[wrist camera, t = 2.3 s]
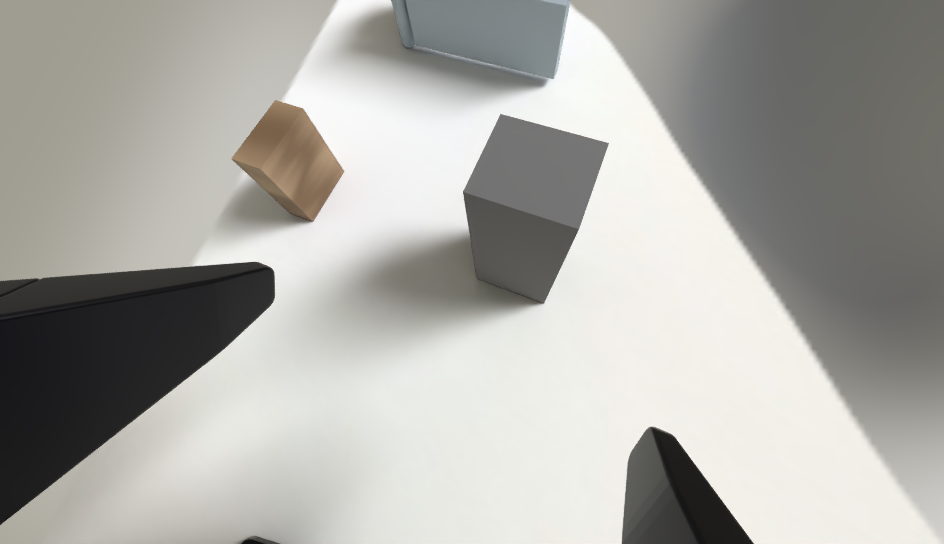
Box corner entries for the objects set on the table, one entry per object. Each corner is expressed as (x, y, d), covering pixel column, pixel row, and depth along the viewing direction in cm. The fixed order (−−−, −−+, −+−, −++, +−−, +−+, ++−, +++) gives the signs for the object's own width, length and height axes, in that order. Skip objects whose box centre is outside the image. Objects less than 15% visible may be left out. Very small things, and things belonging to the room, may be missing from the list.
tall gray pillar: (543, 303, 22) (578, 229, 13) (476, 278, 23) (463, 191, 13) (563, 248, 23) (608, 143, 14) (499, 226, 24) (500, 114, 15)
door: (400, 45, 30) (378, -36, 25) (413, 24, 31) (395, -59, 25) (552, 83, 28) (566, 1, 22) (563, 59, 29) (579, -26, 23)
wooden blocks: (313, 221, 25) (260, 168, 19) (289, 212, 25) (231, 158, 20) (446, 6, 32) (435, -78, 26) (426, 2, 32) (412, -82, 27)
